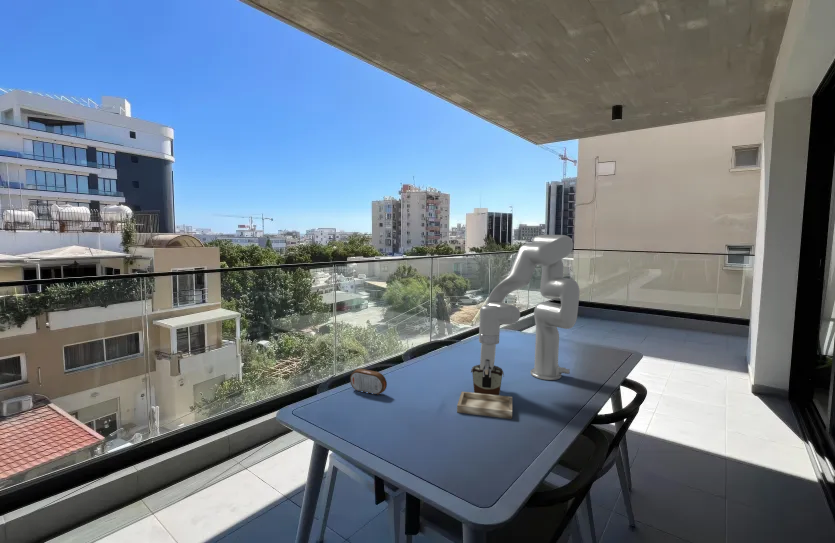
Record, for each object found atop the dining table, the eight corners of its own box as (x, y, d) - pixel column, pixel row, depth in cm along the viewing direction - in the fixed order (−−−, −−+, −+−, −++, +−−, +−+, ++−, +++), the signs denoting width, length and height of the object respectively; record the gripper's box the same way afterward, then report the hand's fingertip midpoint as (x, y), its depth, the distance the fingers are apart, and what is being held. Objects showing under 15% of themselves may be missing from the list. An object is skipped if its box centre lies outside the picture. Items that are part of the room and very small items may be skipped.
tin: (387, 394, 145) (387, 372, 144) (383, 397, 142) (383, 375, 141) (353, 387, 151) (353, 366, 151) (348, 390, 149) (348, 369, 148)
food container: (505, 391, 149) (506, 366, 148) (503, 397, 143) (504, 371, 142) (473, 387, 153) (473, 362, 152) (470, 393, 147) (470, 367, 146)
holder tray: (512, 403, 138) (512, 396, 138) (512, 418, 127) (512, 411, 126) (461, 398, 142) (461, 391, 142) (457, 412, 131) (457, 405, 131)
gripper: (480, 332, 155) (479, 373, 157) (477, 343, 139) (475, 389, 140) (500, 333, 154) (498, 375, 155) (498, 345, 137) (496, 392, 138)
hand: (487, 382), depth 147 cm, fingers open, 9 cm apart
